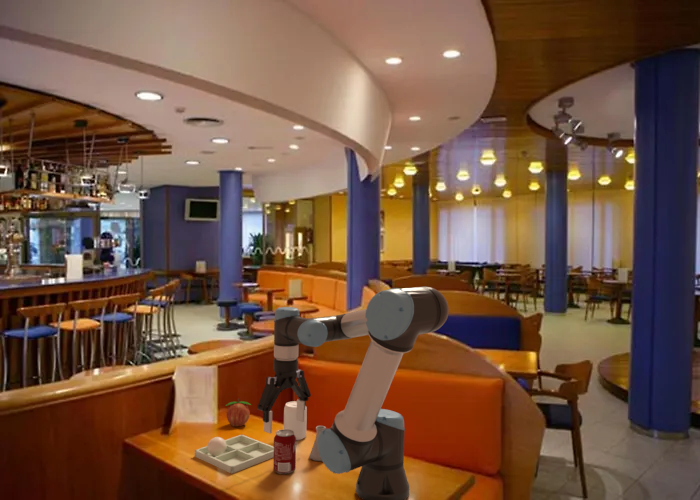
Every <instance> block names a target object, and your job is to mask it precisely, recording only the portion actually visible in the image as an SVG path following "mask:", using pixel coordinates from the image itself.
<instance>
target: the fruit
mask: <svg viewBox="0 0 700 500" xmlns="http://www.w3.org/2000/svg"><path fill="white" fill-rule="evenodd" d="M248 405H249V406H252V404H251V403H249V402H248V401H243V400H241V401H240V398H238V399H237V401H230V402H228V403H227V404H225V406H226V407H227V406H228V408H227V411H226V418H227V422H228V423H229V424H230V425H231V426H233V427H241V426H244V425H245V424H247V422H248V421H249V418H250V414H251V413H250V408H249V406H248Z"/></svg>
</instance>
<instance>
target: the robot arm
mask: <svg viewBox="0 0 700 500" xmlns="http://www.w3.org/2000/svg"><path fill="white" fill-rule="evenodd" d="M449 312H450V311H449V304H448V301H447V299H446V298H445V295H444V294H443V293H441V291H439V290H437V289H436V288H434V287H430V286H416V287H405V288H399V287H392V288H389V289H385V290H381V291H379V292H377V293H376V294H374V295H373V296H372V297H371V299H370V300H369V302H368V303H367V306H366V308H364V309H360V310H355V311H350V312H347V313H342V314H337V315H329V316H321V317H319V316H317V317H310V318H306V317H301V316H300V315H301V314H300V310H299V308H297V307H293V306H284V307H282V306H281V307H277V308H276V309H275V311H274V319H273V323H274V325H273V327H274V331H273V337H274V338H273V357H274V358H273V371H274V376H273V377H271V376H267V377H266V380H265V385H264V388H263V390H262V393H261V396H260V399H259V401H258V404H257V407H256V408H257V410H258V411H261V412H262V421H263V431H264V432H265V433H268V434H272V433H273V410H271V409H272V408H273V406H274V404H275V403H276V400H277V399H278V397H279V395H280V393H282V392H283V390H287V389H291V390H292V391H293V392H294V394H295V396H297V400H296V401H297V419H296V420H298V421H301V422H304V410H305V408H306V407H307V406H306V402H308V401H309V398H311V396H312V395H311V391H310V389H309V386H308V383H307V380H306V378H305V371H304V370H302V369H299V359H298V357H299V349H300V348H299V344H301V345H303V346H306V347H313V348H317V347H320V346H322V345H324V343H326V342H327V343H328V342H333V341H341V340H348V339H349V340H350V339H352V338H353V339H354V338H357V337H364V336H369V338H370V343H369V345H368V346H367V347H368V348H367V350H366V353H365V356H364V359H363V361H362V364H361V366H360V369H359V371H358V374H357V376H356V379H355V382H354V385H353V386H352V390H351V391H350V395H349V397H348V399H347V403H346V405H345V408H344V409H343V410H341V411H338V413H336V415H335V417H334V420H333V423H332V425H331V427H329V428H328V427H326V429H325V430H323V431H322V432H321V433H320V434H319V437H318V450H319V453H320V457H321V459H322V461H321V462H323V464H324V466H325V467H326V468H327V470H329V471H330V472H332V473H333V474H337V475H338V474H340V475H341V474H343V473H349V472H351V471H353V470H356V469H358V468H360V471H359V474H358V477H357V480H356V484H355V492H356V495H357V496H358V497H359V498H360V499H361V500H406V499H408V498H409V495H410V484H409V481H408V477H407V473H406V469H405V465H404V462H405V461H404V457H405V455H404V454H405V431H406V428H405V420H404V416H403V415H402V414H401V413H399V412H396V411H393V410H390V409H387V408H386V409H385V408H382V406H383V404H384V402H385V400H386V397H387V395H388V392H389V389H390V387H391V384H392V382H393V380H394V377H395V374H397V373H396V372H397V370H398V368H399V366H400V363H401V361H402V358H403V355H404V354H406V353H409V352H411V351H412V350H413V348H414V345H415V344H416V341H417V338H418V337H419V335H424V334H430V333H432V332H433V333H434V332H436V331H437V330H439V329H441V327H442V326H444V324H445V323H446V322H447V319H448V317H449Z"/></svg>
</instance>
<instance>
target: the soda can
mask: <svg viewBox="0 0 700 500" xmlns="http://www.w3.org/2000/svg"><path fill="white" fill-rule="evenodd" d="M273 447H274V457H273V471H274V472H275V473H277V474H279V475H289V474H291V473H293V472H294V471H295V470H296V468H297V467H296V464H297V463H296V461H297V459H296V458H297V456H296V455H297V451H296V450H297V440H296V437H295V435H294V431H292V430H289V429H284V428H283V429H278V430H276V432H275V436H274V437H273Z"/></svg>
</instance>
